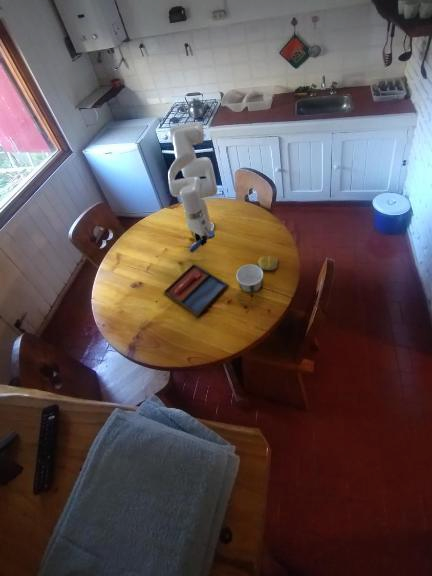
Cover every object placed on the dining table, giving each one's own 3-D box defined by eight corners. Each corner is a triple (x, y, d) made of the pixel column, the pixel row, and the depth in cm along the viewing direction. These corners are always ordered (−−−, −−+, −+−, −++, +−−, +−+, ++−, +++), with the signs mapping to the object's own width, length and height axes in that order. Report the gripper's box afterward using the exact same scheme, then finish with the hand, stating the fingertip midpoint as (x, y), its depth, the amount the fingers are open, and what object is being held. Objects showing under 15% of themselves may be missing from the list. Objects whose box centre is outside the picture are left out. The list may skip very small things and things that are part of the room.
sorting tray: (164, 293, 162) (163, 291, 160) (194, 266, 172) (193, 263, 171) (198, 317, 149) (197, 314, 147) (228, 286, 159) (227, 283, 158)
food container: (268, 289, 154) (267, 279, 150) (243, 298, 153) (241, 288, 149) (258, 270, 163) (257, 261, 159) (234, 278, 162) (232, 269, 158)
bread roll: (259, 257, 170) (259, 251, 167) (278, 259, 167) (277, 253, 165) (257, 270, 164) (256, 264, 161) (276, 272, 161) (275, 266, 158)
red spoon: (179, 298, 157) (177, 294, 156) (172, 293, 160) (171, 290, 159) (202, 275, 166) (201, 271, 164) (196, 271, 168) (195, 267, 167)
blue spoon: (193, 255, 156) (192, 251, 155) (187, 251, 159) (185, 247, 158) (216, 234, 165) (215, 230, 164) (209, 231, 168) (209, 227, 166)
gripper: (213, 213, 148) (219, 244, 159) (187, 202, 158) (195, 232, 169) (201, 222, 144) (209, 254, 155) (175, 211, 154) (184, 241, 165)
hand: (201, 242), depth 162 cm, fingers closed on blue spoon, 2 cm apart
